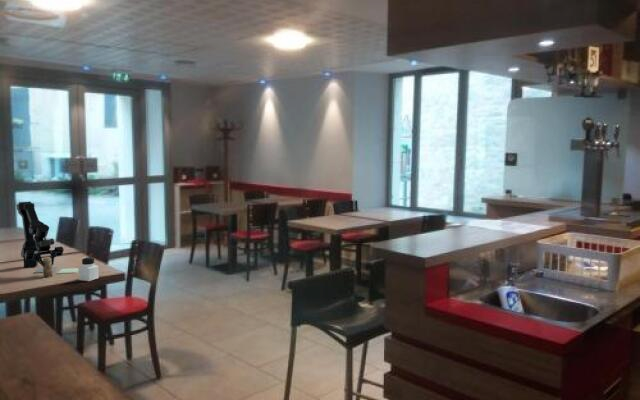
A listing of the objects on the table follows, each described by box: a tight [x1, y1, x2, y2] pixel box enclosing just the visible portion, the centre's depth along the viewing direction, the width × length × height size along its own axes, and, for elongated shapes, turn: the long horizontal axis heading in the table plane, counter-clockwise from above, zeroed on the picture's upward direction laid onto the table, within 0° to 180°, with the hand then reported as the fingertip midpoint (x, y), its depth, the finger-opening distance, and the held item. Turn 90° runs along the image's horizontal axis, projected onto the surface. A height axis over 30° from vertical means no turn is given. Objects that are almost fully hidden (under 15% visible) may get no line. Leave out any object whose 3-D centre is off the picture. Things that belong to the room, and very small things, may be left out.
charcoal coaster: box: [33, 267, 58, 274], centre depth 291 cm, size 10×10×1 cm
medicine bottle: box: [77, 256, 99, 282], centre depth 272 cm, size 7×7×12 cm
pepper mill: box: [42, 257, 53, 279], centre depth 277 cm, size 4×4×10 cm
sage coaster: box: [57, 267, 79, 275], centre depth 289 cm, size 10×10×1 cm
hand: (48, 265), depth 276 cm, fingers closed on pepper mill, 4 cm apart
